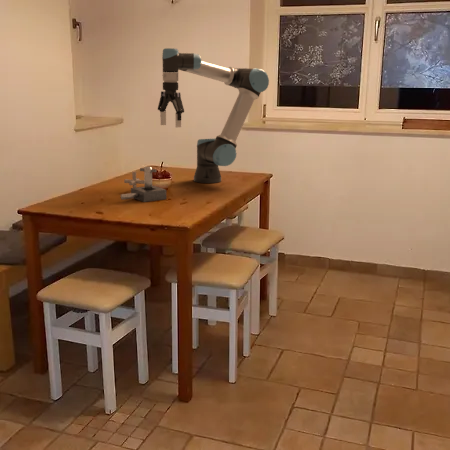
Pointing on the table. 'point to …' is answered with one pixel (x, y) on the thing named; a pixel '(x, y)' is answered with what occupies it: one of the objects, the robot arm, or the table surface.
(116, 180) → the table surface
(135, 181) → the pipe connector
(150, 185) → the chuck key
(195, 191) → the table surface
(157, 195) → the block
